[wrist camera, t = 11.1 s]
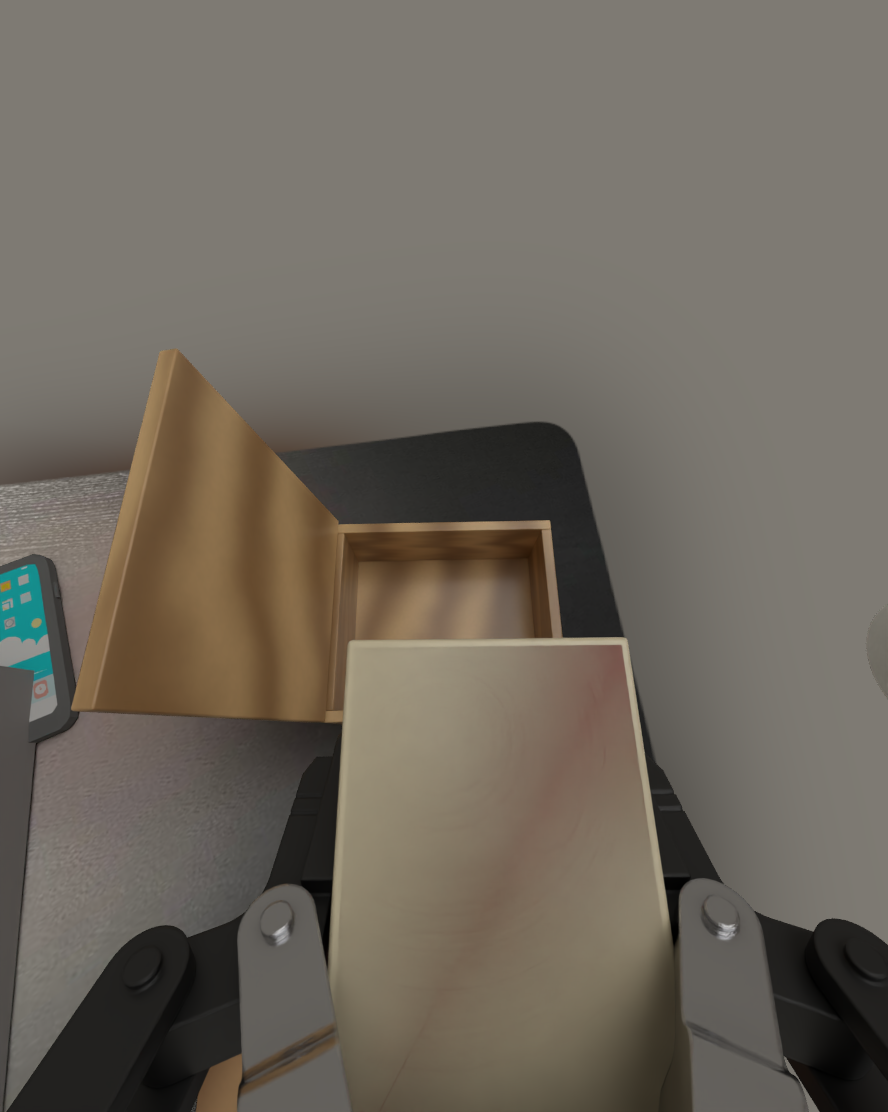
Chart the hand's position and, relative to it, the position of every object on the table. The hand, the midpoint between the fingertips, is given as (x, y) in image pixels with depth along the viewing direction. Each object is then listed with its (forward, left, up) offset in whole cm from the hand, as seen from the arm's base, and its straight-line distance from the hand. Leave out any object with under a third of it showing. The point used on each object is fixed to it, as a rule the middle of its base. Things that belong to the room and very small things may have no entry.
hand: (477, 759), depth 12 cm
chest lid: (+10, -8, -9) cm, 15 cm away
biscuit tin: (0, +2, -7) cm, 7 cm away
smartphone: (+35, -7, -24) cm, 43 cm away
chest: (+1, -8, -24) cm, 26 cm away
